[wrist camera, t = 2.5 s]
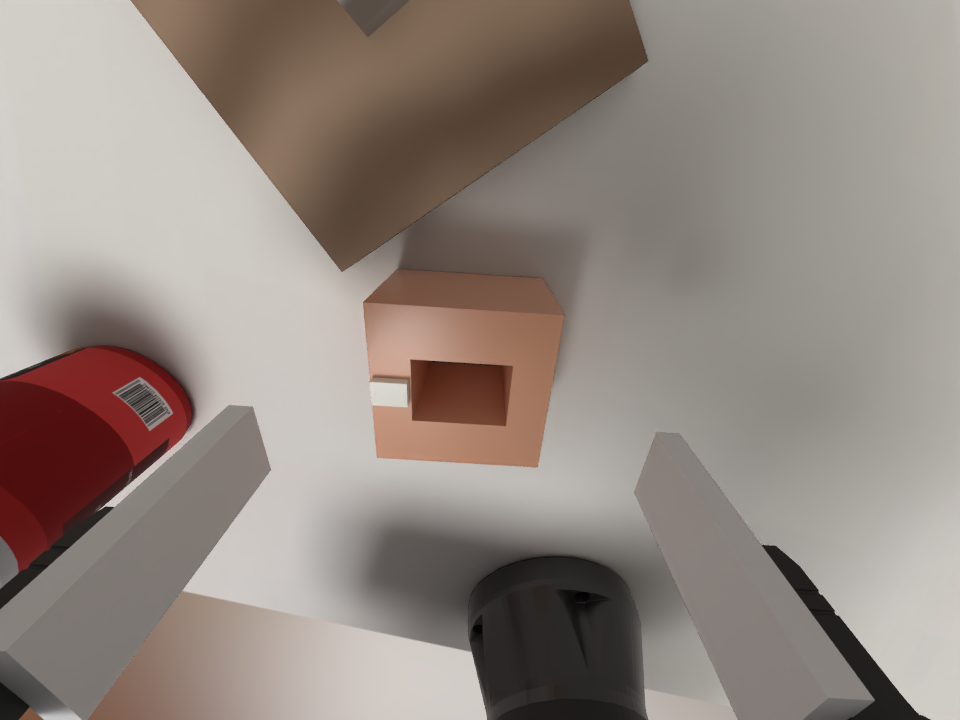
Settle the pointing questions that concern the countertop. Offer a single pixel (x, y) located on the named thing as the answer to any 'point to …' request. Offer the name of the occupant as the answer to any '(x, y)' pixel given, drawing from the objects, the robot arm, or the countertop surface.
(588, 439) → the countertop surface
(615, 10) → the base plate
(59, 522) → the canned food
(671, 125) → the countertop surface
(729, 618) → the robot arm
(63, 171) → the countertop surface
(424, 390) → the orange open box
